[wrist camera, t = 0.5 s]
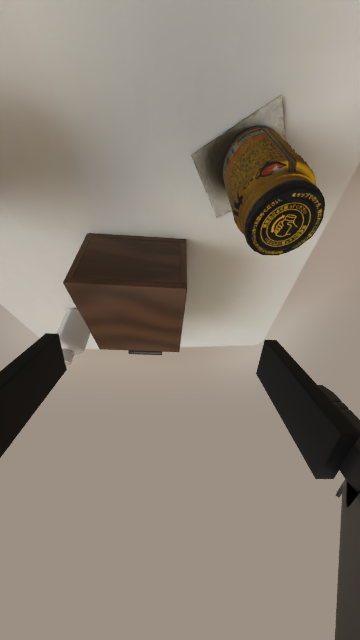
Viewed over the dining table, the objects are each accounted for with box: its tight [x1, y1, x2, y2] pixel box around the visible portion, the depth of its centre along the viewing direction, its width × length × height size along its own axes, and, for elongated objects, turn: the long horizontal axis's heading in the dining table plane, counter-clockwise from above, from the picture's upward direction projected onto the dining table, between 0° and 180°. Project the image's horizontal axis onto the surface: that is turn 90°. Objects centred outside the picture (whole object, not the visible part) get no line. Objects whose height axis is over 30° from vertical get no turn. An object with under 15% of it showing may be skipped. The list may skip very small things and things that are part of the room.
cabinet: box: [63, 234, 187, 352], centre depth 32 cm, size 16×14×10 cm
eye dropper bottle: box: [57, 308, 90, 365], centre depth 40 cm, size 4×6×12 cm
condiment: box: [191, 95, 325, 255], centre depth 18 cm, size 7×8×12 cm
